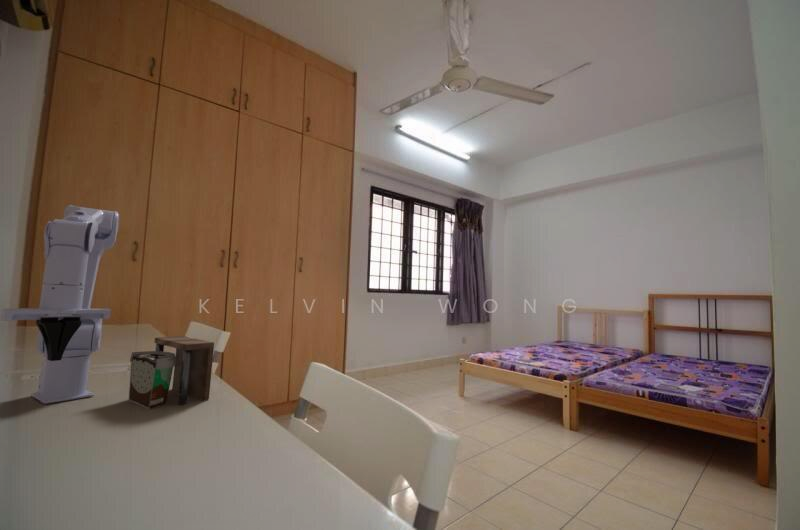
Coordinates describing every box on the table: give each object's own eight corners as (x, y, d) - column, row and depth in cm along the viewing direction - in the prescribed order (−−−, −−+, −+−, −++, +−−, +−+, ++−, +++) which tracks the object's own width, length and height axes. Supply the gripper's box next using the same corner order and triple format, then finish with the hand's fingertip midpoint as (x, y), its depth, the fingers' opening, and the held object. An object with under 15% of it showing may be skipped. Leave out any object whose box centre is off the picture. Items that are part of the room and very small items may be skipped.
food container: (184, 404, 77) (189, 356, 78) (152, 410, 72) (158, 359, 72) (156, 393, 83) (161, 349, 84) (125, 398, 78) (130, 351, 79)
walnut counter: (148, 393, 83) (155, 337, 84) (176, 388, 88) (181, 336, 89) (180, 405, 75) (186, 344, 76) (208, 399, 80) (214, 342, 81)
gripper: (13, 282, 58) (1, 368, 57) (120, 287, 71) (111, 358, 69) (2, 282, 62) (-10, 362, 61) (105, 286, 74) (97, 353, 73)
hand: (54, 360), depth 65 cm, fingers closed
